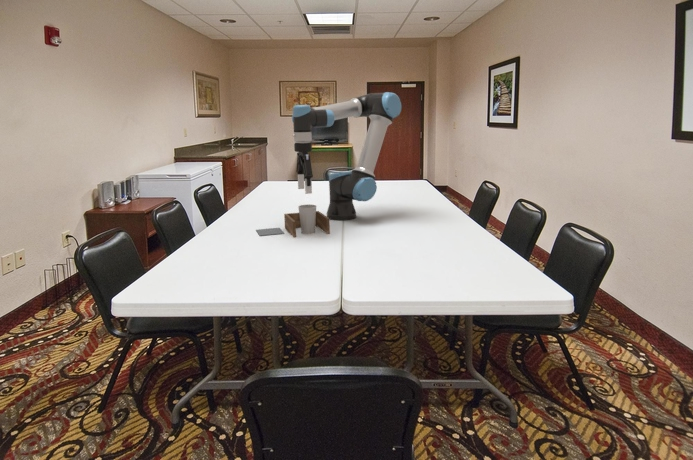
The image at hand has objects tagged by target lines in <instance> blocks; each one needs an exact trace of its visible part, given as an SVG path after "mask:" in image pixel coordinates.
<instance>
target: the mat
mask: <svg viewBox="0 0 693 460" xmlns="http://www.w3.org/2000/svg"><path fill="white" fill-rule="evenodd" d="M255 231H256V233H257V234H258V236H259V237H265V236H268V237H269V236H275V235H276V236H278V235H284V234H285V232H284V230H282V229H281V227H273V228H272V227H271V228H259V229H255Z"/></svg>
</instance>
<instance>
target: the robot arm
mask: <svg viewBox="0 0 693 460" xmlns="http://www.w3.org/2000/svg"><path fill="white" fill-rule="evenodd" d="M401 111H402V102H401V99H400V97H399V95H397V94H396V93H394V92H389V91H386V92H371V93H367V94H364V95H360V96H356V97H353V98H351V99H350V100H348V101H342V102H337V103H331V104H326V105H322V106H321V105H320V106H317V107H311V106H310V104H298V105H293V107H292V114H291V115H292V116H291V121H292V123H293V134H292V137H293V142H294V145H293V147H294V152H297V153H296V170H295V172H296V173H297V189H298V190H304V191H305V195H306V194H307V195H309V194H313V191H312V190H313V189H312V188H313V187H312V178H313V177H314V174H313V168H312V162H311V154H308V152H312V151H313V144H312V141H313V139H312V137H313V136H312V133H313V132H312V128H330V127H332V126H333V125H334V123H335V121H339V120H342V119H346V118H353V117H354V118H361V117H362V118H369V119H370V123H369V125H368V129H367V132H366V135H365V138H364V142H363V146H362V148H361V151H360V154H359V158H358V161H357V165H356V166H355V168H352V170H351V171H342V172H332V173H330V174H329V178H328V188H329V204H328V207H327V211H326V216H327V217H328V218H329V220H334V221H348V220H353V219H356V218H357V211H356V209H355V204H354V202H353V201H357V202H368V201H371V200H372V199H373V198H374V197H375V194H376V193H377V182H376V181H375V179H376V175H375V173H374V171H375V168H376V167H377V166H376V165H377V162H378V159H379V155H380V153H381V149H382V146H383V143H384V139H385V136H386V133H387V130H388V127H389V126H390V125H392V124H393V121H394V118H397V117H398V116H400V114H401Z"/></svg>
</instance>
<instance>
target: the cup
mask: <svg viewBox="0 0 693 460" xmlns="http://www.w3.org/2000/svg"><path fill="white" fill-rule="evenodd" d="M297 208H298V213H299V216H300V224H301V228H300V230H301V231H300V233H301V234H303V235H313V234H315V233H316V226H315V224H316V211H317V205H316V204H301V205H298V207H297Z"/></svg>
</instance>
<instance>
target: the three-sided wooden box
mask: <svg viewBox="0 0 693 460" xmlns="http://www.w3.org/2000/svg"><path fill="white" fill-rule="evenodd" d="M283 214H284V215H283V216H284V229H285V231H286V232H287V233H289V234H290V236H292V237H293V238H296V237H297V229H301V224H300V216H299V212H293V213H292V212H291V213H283ZM315 227H317V228H319V229H320V230H321V231H323V232H324V233H325V234H327V235H330V232H331V231H330V227H331V226H330V219H329V218H328V217H327V215H325V214H324V213H322V212H321V211H319V210H316V224H315Z"/></svg>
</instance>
